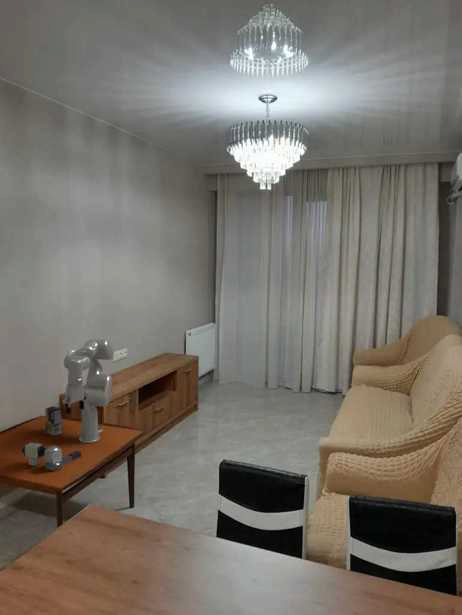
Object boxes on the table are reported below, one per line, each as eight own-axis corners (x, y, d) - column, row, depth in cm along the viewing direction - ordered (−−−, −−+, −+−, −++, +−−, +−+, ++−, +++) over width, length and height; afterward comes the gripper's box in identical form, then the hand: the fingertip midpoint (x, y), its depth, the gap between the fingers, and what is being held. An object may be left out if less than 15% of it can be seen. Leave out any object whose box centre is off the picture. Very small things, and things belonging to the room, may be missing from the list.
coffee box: (62, 432, 299) (62, 408, 297) (54, 436, 293) (54, 411, 291) (53, 429, 303) (53, 405, 301) (45, 432, 298) (45, 408, 296)
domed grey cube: (54, 457, 255) (53, 444, 254) (62, 460, 252) (61, 447, 251) (45, 462, 250) (44, 449, 249) (53, 465, 247) (52, 452, 246)
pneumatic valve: (41, 467, 251) (41, 446, 250) (21, 464, 253) (21, 443, 252) (47, 463, 256) (47, 442, 255) (28, 460, 259) (28, 439, 257)
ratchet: (73, 453, 269) (73, 442, 269) (84, 457, 265) (84, 445, 264) (41, 468, 250) (41, 456, 249) (52, 473, 246) (52, 460, 245)
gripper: (82, 376, 266) (81, 405, 268) (57, 383, 251) (57, 414, 253) (91, 379, 262) (91, 408, 264) (67, 386, 247) (67, 417, 249)
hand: (75, 411), depth 259 cm, fingers open, 9 cm apart
